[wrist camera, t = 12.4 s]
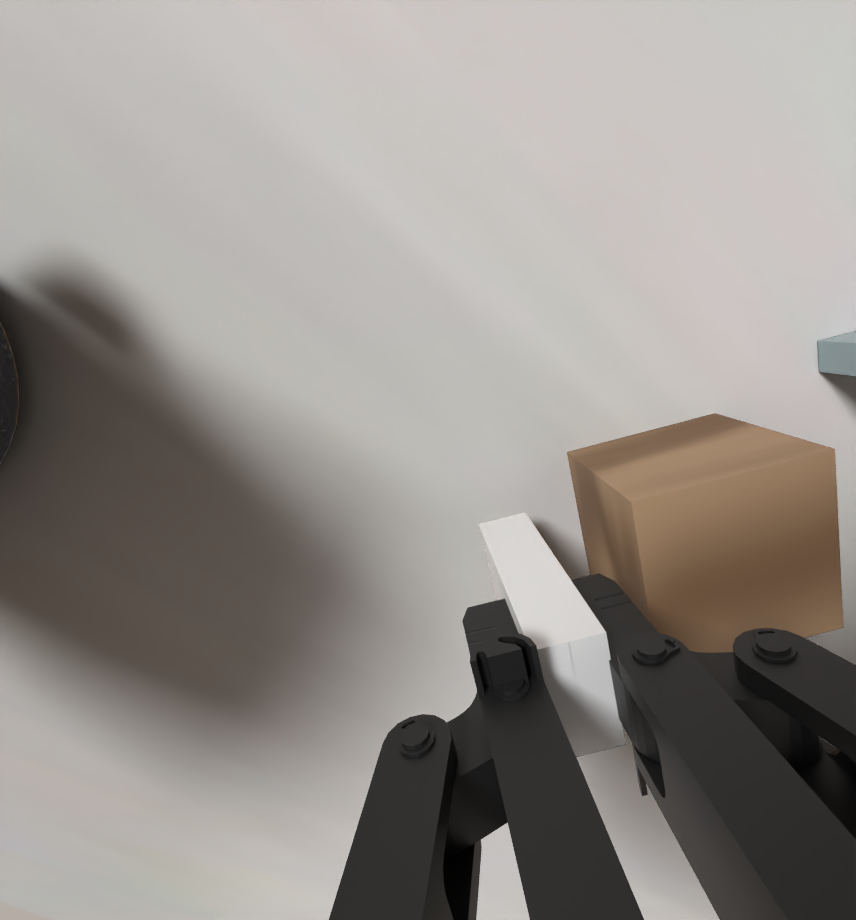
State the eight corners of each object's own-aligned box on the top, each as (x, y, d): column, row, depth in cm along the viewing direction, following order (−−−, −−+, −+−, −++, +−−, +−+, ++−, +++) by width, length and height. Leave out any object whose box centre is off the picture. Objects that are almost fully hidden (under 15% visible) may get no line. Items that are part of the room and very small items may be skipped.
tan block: (566, 451, 18) (631, 501, 13) (713, 413, 18) (835, 449, 13) (591, 584, 19) (658, 674, 14) (728, 548, 19) (843, 627, 14)
